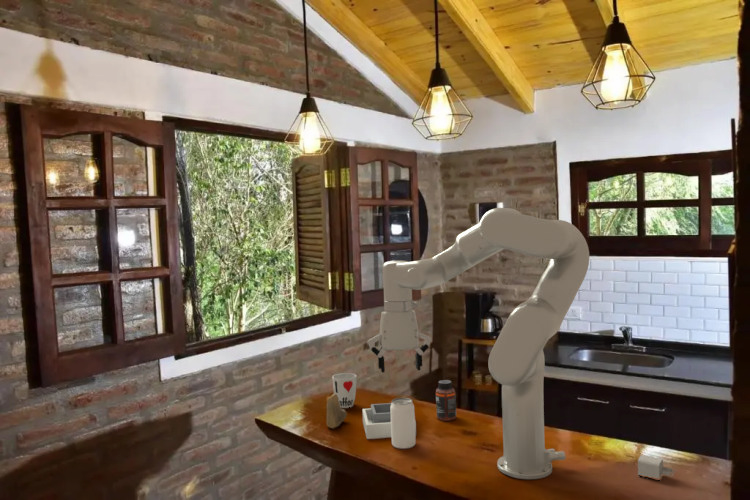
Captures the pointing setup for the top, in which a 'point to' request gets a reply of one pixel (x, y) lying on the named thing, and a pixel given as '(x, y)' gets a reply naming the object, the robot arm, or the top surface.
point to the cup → (345, 388)
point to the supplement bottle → (445, 401)
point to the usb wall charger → (652, 467)
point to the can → (402, 423)
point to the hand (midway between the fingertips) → (400, 370)
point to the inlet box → (378, 421)
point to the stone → (334, 412)
